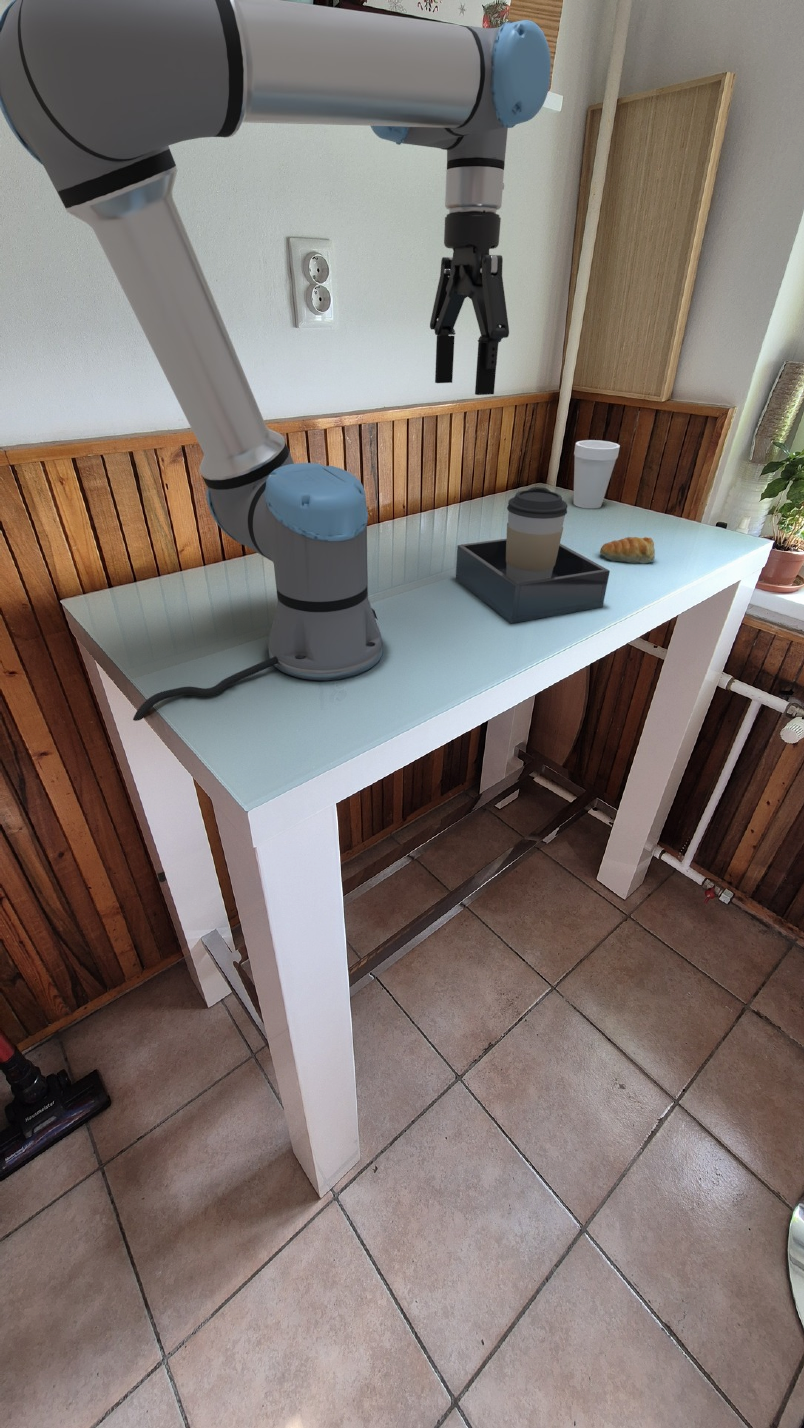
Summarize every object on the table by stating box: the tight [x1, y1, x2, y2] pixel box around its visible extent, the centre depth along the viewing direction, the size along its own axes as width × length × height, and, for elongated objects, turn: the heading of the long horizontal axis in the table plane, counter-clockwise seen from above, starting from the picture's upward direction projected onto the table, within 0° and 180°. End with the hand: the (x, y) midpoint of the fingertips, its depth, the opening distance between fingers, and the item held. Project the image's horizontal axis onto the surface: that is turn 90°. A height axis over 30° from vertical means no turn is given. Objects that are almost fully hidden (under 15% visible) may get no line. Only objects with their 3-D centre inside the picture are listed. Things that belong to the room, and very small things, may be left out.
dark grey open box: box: [455, 538, 611, 625], centre depth 104 cm, size 17×19×6 cm
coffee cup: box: [505, 486, 569, 583], centre depth 101 cm, size 9×9×15 cm
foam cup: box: [572, 439, 621, 509], centre depth 145 cm, size 10×9×13 cm
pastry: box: [599, 536, 656, 564], centre depth 119 cm, size 9×7×4 cm
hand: (462, 388), depth 98 cm, fingers open, 13 cm apart
